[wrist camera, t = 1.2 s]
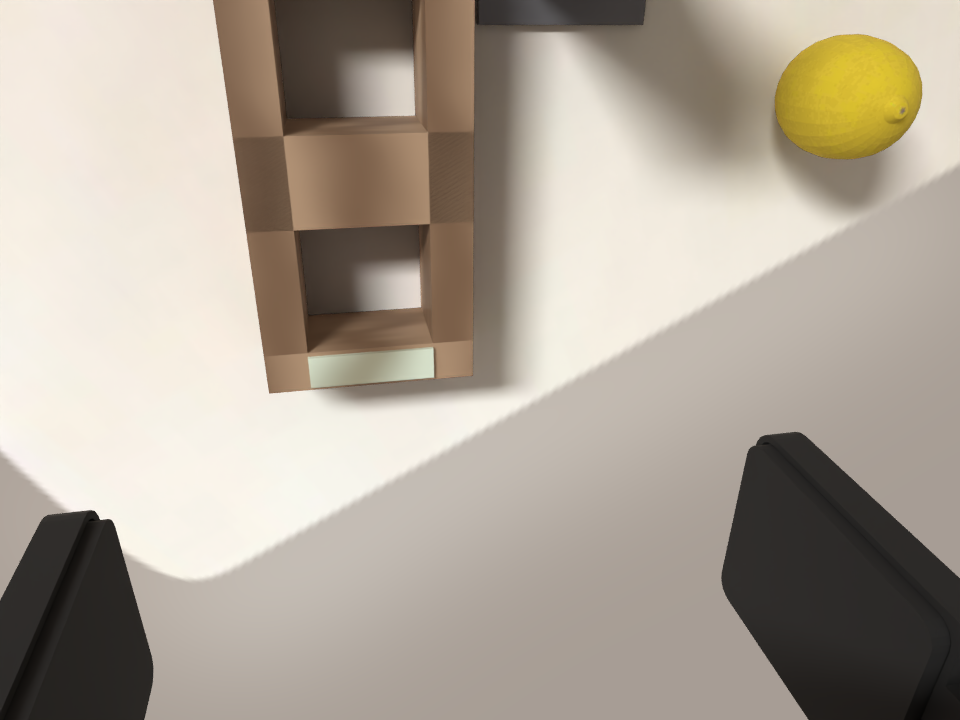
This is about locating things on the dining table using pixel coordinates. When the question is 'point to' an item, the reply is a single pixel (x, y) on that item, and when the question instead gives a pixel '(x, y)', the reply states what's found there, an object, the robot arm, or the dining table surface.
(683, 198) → the dining table surface
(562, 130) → the dining table surface
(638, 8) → the mat
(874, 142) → the lemon
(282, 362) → the socket block
